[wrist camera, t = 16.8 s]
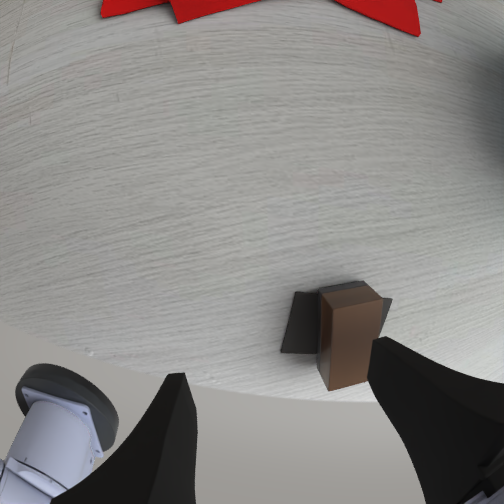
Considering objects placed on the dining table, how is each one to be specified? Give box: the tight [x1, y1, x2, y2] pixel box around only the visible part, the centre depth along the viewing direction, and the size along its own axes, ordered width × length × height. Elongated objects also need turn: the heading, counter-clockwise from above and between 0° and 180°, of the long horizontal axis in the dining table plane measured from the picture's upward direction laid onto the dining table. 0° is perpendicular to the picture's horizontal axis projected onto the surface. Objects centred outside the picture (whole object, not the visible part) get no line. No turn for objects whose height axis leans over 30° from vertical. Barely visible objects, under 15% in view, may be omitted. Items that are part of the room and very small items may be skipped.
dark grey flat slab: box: [281, 292, 393, 354], centre depth 21 cm, size 5×8×1 cm, turn 81°
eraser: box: [317, 281, 383, 391], centre depth 20 cm, size 7×4×3 cm, turn 6°
